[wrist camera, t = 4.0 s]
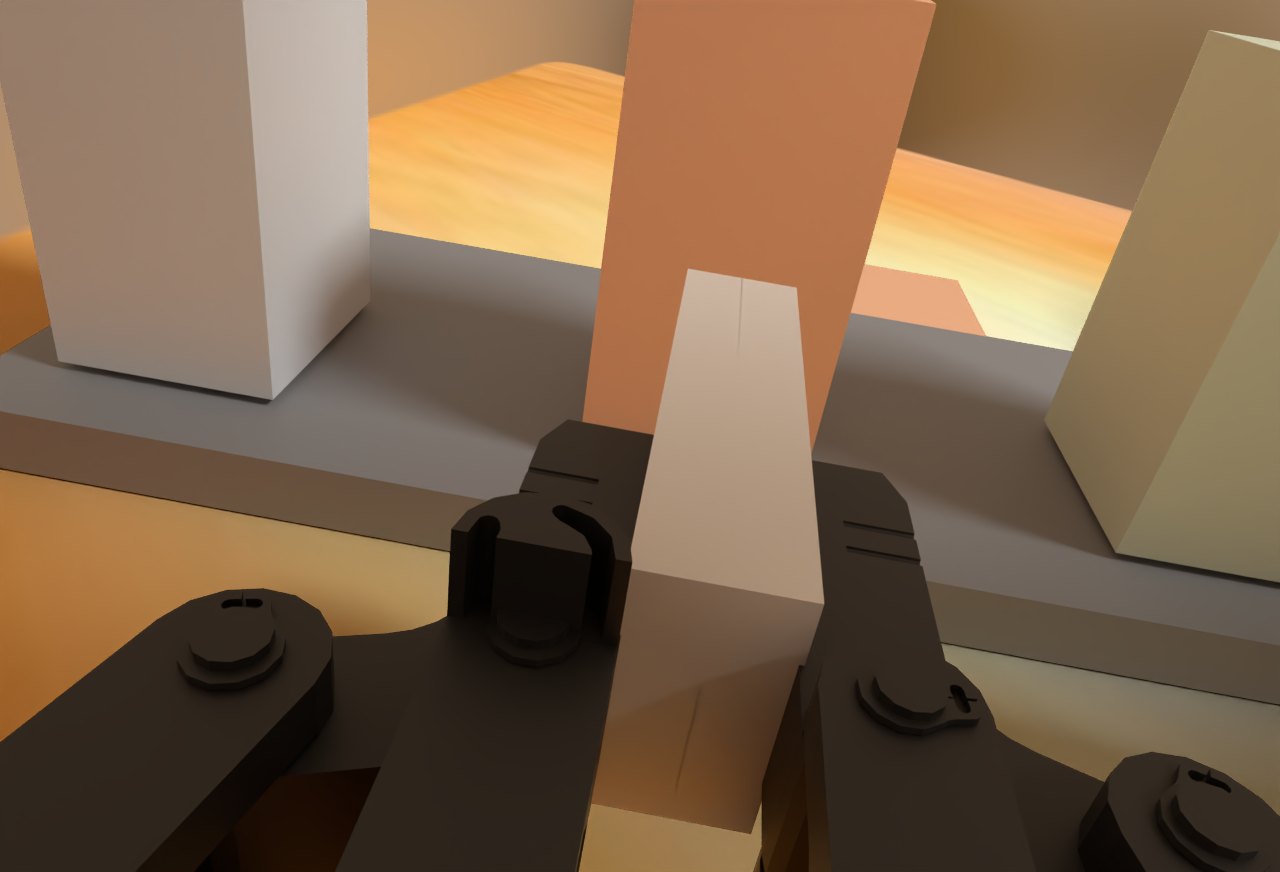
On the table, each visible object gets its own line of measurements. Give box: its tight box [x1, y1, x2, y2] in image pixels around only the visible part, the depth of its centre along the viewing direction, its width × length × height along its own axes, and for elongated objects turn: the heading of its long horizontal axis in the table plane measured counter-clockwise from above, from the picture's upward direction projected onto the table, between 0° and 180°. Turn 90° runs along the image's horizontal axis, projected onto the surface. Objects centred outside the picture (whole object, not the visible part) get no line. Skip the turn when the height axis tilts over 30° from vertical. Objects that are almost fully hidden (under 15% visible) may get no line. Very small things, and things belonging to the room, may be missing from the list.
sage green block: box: [1044, 30, 1280, 582], centre depth 20 cm, size 5×6×10 cm
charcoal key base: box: [0, 229, 1280, 705], centre depth 25 cm, size 32×14×2 cm, turn 84°
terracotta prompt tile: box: [851, 264, 986, 336], centre depth 36 cm, size 6×6×1 cm
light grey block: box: [0, 0, 370, 400], centre depth 21 cm, size 5×6×10 cm
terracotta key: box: [582, 0, 936, 454], centre depth 20 cm, size 5×6×10 cm
